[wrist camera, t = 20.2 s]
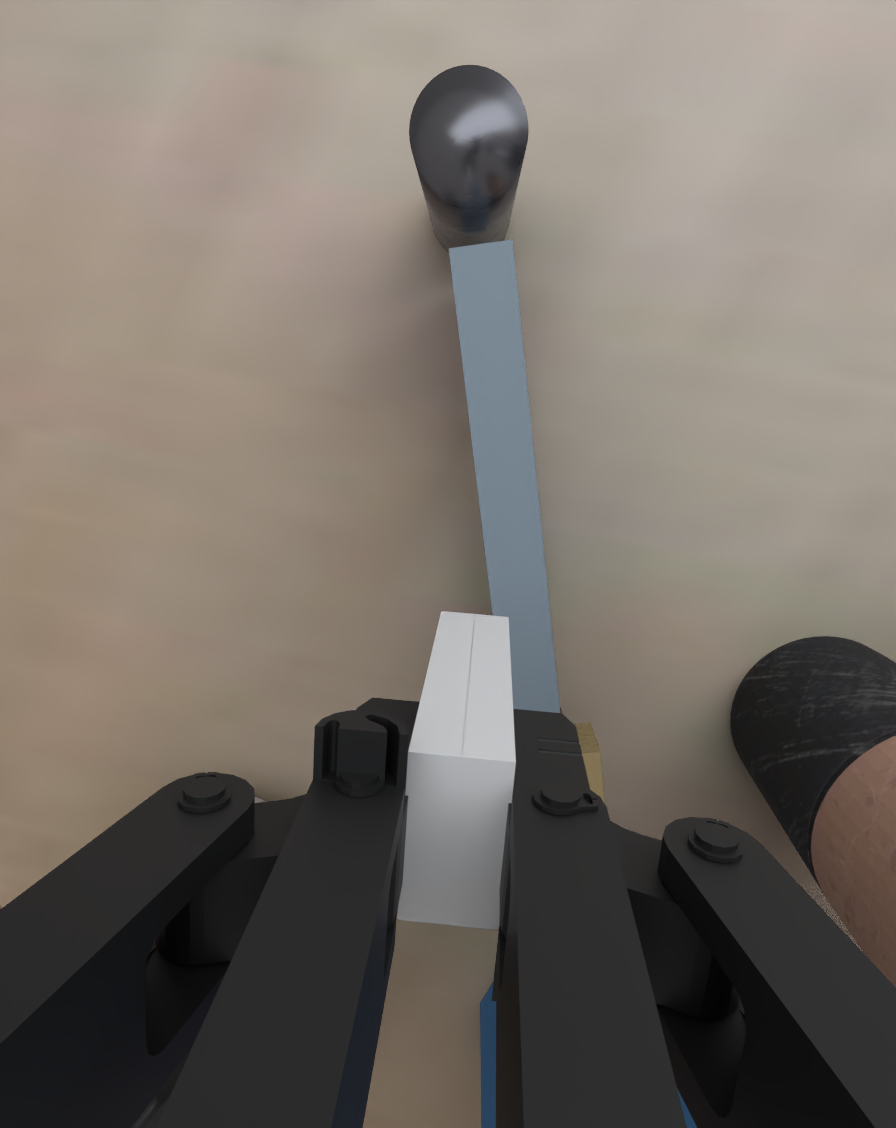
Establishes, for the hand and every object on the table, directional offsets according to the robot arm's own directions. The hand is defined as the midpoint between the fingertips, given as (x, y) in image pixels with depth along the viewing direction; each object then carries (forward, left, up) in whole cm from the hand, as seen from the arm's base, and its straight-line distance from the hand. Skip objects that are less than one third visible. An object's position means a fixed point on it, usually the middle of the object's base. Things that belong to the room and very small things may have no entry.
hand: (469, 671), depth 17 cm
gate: (-1, -1, -13) cm, 13 cm away
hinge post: (-1, -12, -14) cm, 18 cm away
